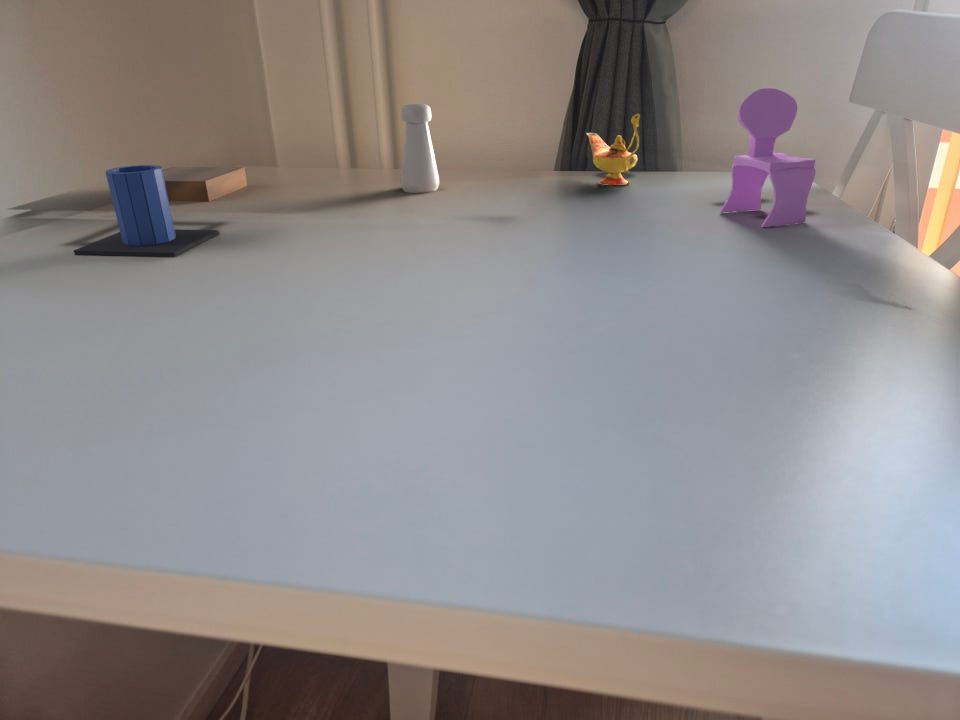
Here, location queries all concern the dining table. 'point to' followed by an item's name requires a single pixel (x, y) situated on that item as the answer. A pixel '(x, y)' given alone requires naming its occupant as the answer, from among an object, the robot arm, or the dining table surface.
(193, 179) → the platform
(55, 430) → the dining table surface
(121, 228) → the blue faceted cup
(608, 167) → the magic lamp
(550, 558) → the dining table surface
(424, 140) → the salt shaker
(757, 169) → the toy chair
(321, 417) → the dining table surface
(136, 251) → the mat
